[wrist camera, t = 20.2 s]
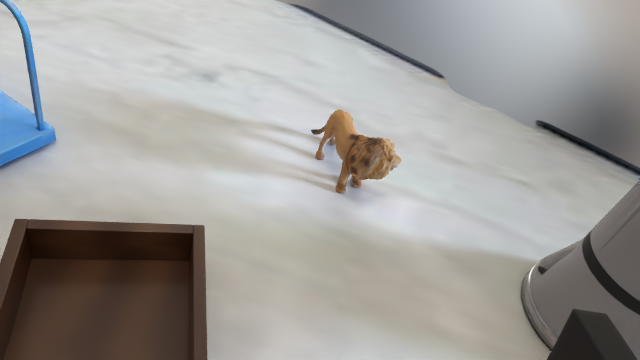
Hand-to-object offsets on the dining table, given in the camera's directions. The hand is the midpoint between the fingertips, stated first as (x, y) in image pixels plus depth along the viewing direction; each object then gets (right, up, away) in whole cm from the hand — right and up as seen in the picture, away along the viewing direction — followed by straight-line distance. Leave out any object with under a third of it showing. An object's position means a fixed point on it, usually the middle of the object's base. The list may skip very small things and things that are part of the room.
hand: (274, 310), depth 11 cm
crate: (-16, -9, +29) cm, 34 cm away
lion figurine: (+4, +4, +52) cm, 52 cm away
